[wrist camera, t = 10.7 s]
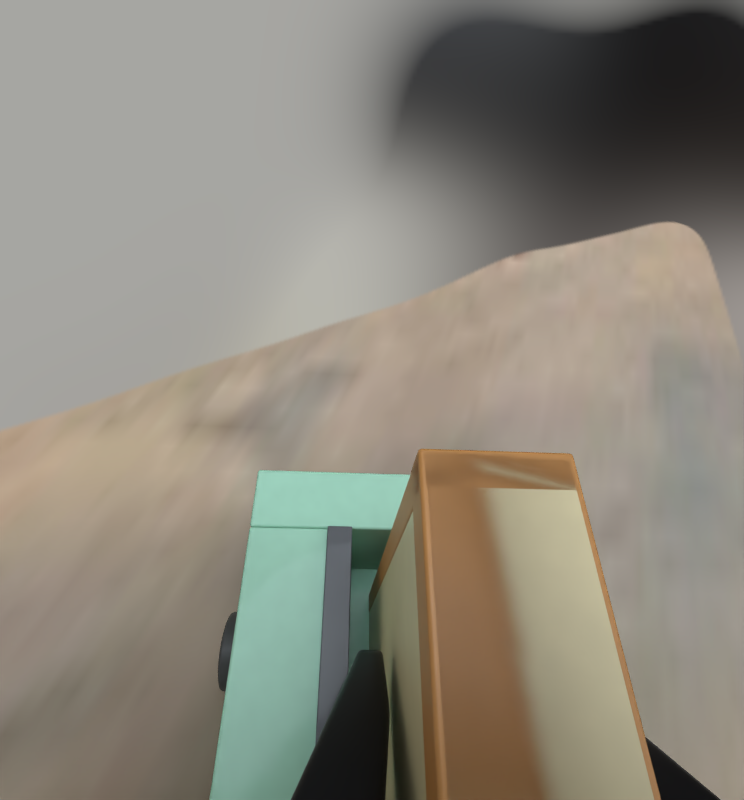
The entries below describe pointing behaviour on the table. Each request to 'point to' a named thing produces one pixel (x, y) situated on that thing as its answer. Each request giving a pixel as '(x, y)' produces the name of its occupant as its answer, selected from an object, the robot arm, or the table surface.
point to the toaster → (297, 621)
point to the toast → (502, 639)
